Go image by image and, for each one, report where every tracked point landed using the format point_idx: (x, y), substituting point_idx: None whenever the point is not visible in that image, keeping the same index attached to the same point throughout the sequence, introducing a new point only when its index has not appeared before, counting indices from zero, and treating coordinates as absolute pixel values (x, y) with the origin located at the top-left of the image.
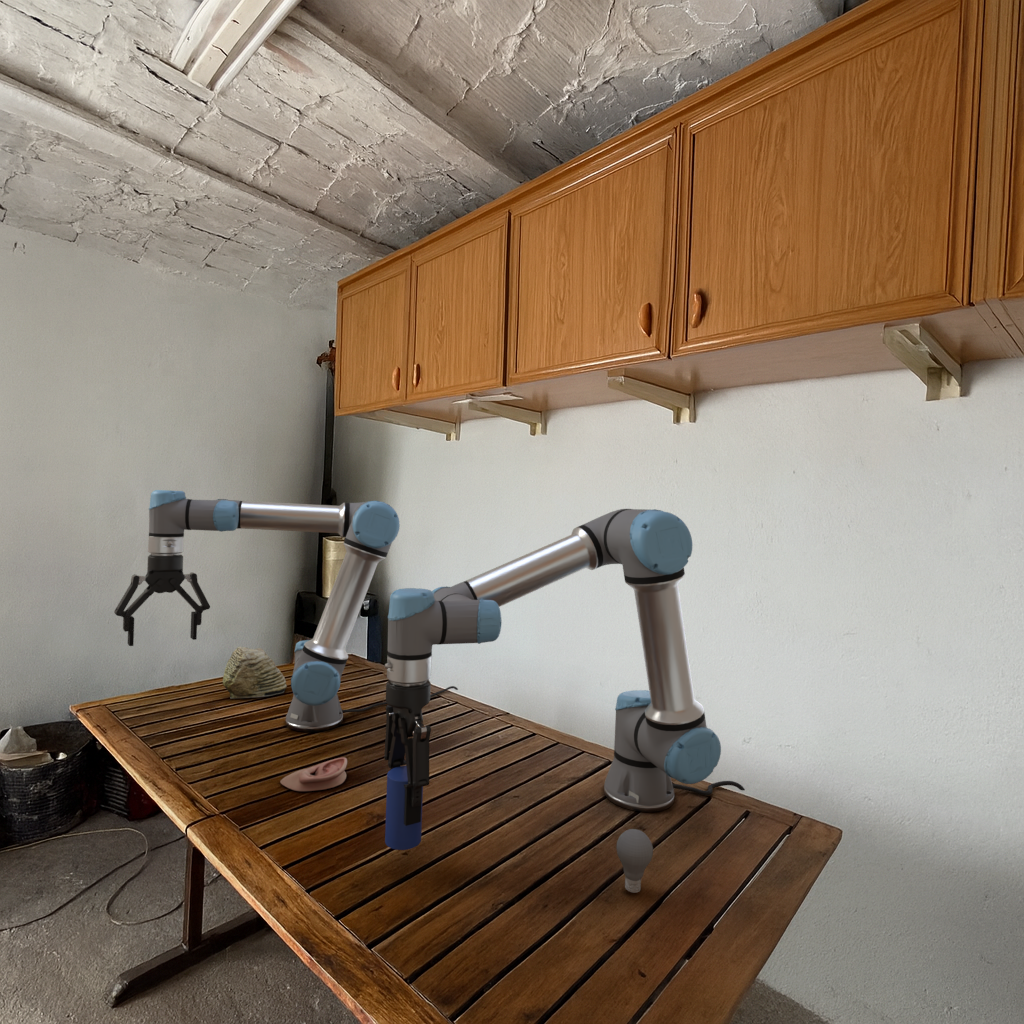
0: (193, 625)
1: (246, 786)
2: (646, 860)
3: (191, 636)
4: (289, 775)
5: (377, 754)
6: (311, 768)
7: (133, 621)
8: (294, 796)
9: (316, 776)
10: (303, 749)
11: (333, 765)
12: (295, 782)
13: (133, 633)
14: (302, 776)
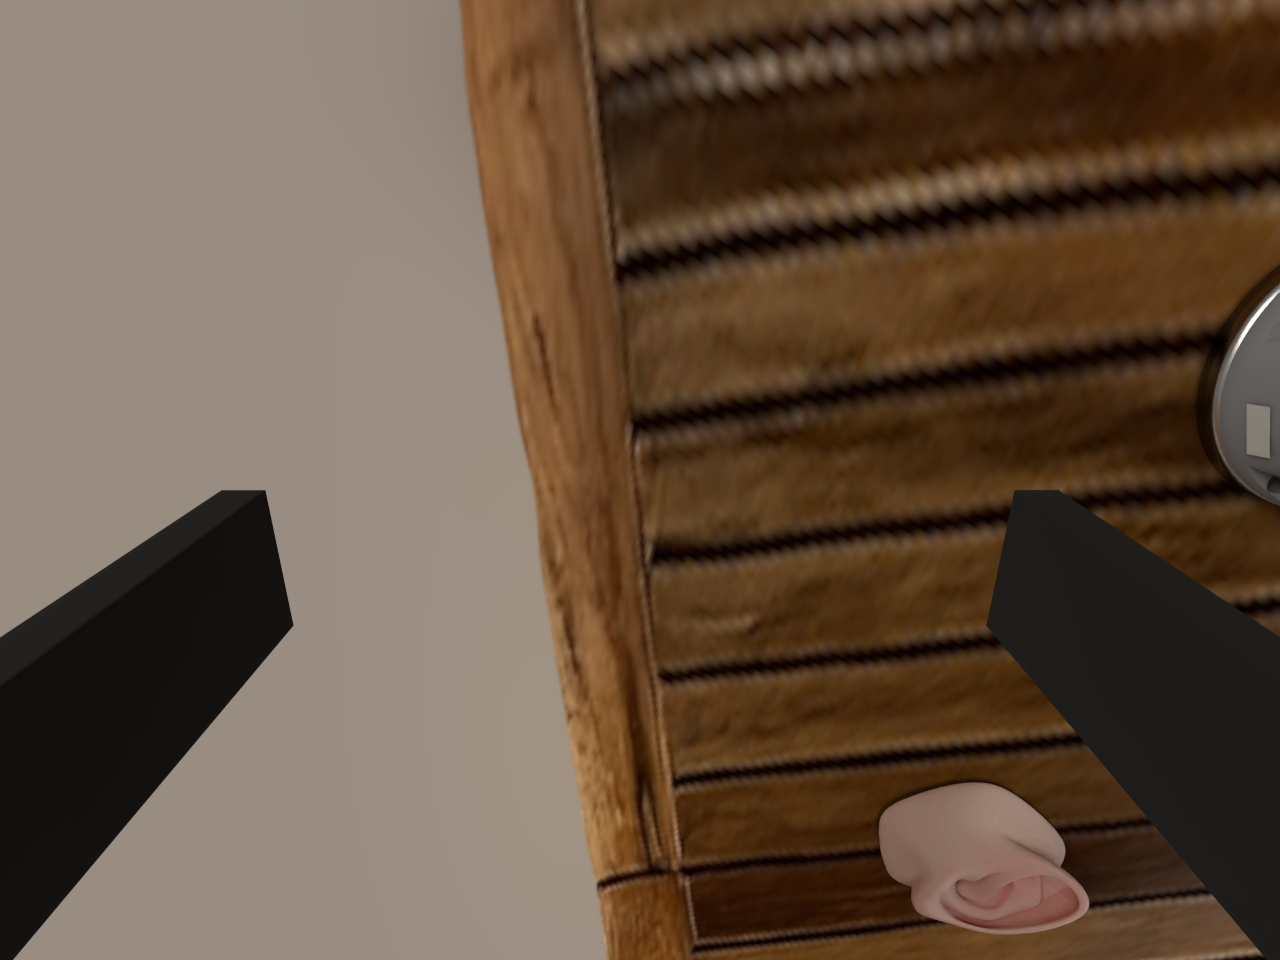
0: (1108, 751)
1: (795, 777)
2: None
3: (1018, 553)
4: (915, 828)
5: None
6: (975, 874)
7: (36, 912)
8: (872, 884)
9: (957, 910)
10: None
11: (1043, 877)
12: (905, 866)
13: (197, 731)
14: (923, 902)
